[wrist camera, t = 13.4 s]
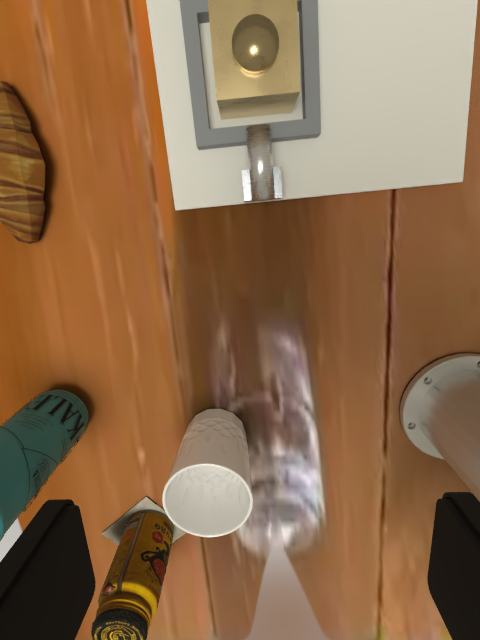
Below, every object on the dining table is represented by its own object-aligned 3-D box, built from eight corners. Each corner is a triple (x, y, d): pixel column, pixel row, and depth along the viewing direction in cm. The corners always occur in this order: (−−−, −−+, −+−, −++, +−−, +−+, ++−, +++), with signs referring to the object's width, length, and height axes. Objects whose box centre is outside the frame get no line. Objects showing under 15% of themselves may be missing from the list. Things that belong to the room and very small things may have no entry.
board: (477, -98, 26) (501, -131, 24) (456, 183, 32) (473, 179, 29) (141, -55, 27) (130, -82, 25) (177, 210, 33) (172, 209, 30)
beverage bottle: (44, 431, 40) (-144, 630, 20) (34, 379, 38) (-184, 544, 19) (100, 431, 39) (-36, 631, 20) (93, 379, 38) (-65, 544, 18)
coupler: (287, 29, 28) (298, -18, 22) (290, 112, 29) (301, 88, 24) (213, 37, 28) (206, -7, 22) (221, 119, 29) (215, 97, 24)
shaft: (238, 137, 30) (238, 126, 26) (275, 133, 30) (279, 122, 26) (244, 203, 31) (244, 201, 28) (279, 199, 31) (283, 197, 28)
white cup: (228, 391, 38) (223, 449, 28) (263, 444, 40) (268, 516, 30) (169, 422, 39) (144, 487, 29) (205, 472, 41) (192, 549, 31)
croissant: (-31, 87, 30) (-84, 62, 25) (44, 84, 30) (7, 59, 25) (2, 243, 34) (-38, 247, 29) (70, 242, 34) (41, 245, 29)
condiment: (189, 529, 43) (169, 641, 32) (144, 563, 45) (109, 681, 34) (146, 494, 42) (109, 598, 30) (102, 531, 44) (51, 642, 32)
